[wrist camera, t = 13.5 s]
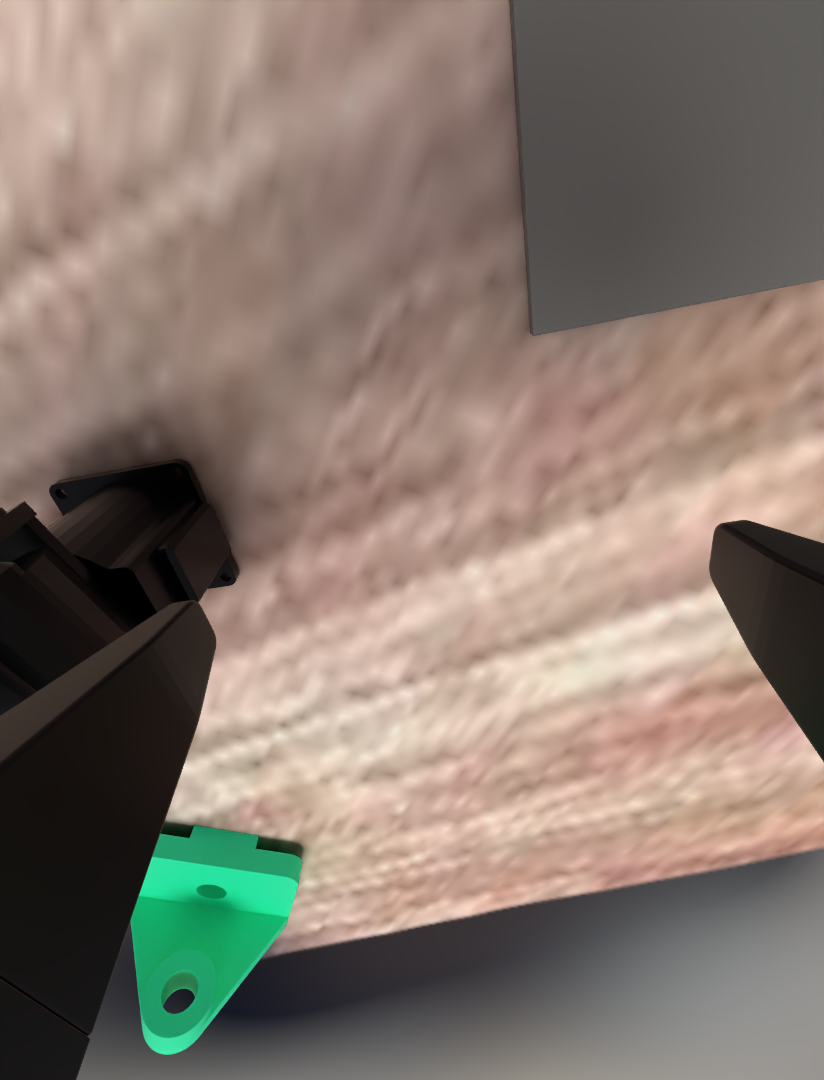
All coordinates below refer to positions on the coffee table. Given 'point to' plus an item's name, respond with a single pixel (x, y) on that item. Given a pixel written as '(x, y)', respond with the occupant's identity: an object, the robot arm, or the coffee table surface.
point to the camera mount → (205, 925)
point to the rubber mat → (667, 152)
